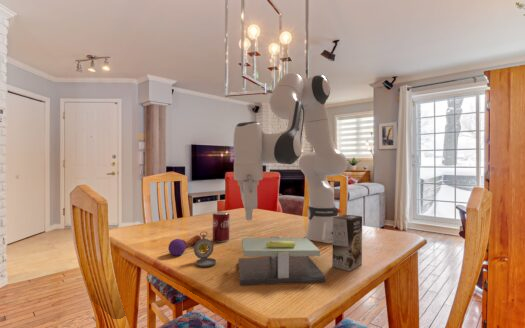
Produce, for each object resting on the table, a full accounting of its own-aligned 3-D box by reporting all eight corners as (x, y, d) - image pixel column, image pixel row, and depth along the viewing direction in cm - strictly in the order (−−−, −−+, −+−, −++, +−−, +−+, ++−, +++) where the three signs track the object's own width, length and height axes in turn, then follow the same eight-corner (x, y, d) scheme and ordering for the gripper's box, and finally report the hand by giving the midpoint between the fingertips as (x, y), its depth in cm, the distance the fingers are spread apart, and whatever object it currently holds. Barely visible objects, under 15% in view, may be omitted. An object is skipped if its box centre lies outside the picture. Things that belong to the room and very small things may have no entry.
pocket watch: (206, 269, 89) (206, 237, 89) (187, 264, 94) (187, 234, 94) (223, 261, 96) (223, 232, 96) (205, 257, 101) (205, 229, 101)
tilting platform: (307, 242, 96) (307, 232, 96) (319, 255, 82) (320, 243, 82) (241, 242, 93) (242, 231, 93) (243, 256, 79) (243, 243, 79)
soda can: (231, 238, 126) (231, 211, 127) (227, 243, 119) (227, 214, 119) (215, 238, 127) (215, 211, 127) (210, 242, 120) (210, 214, 120)
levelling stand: (308, 260, 98) (308, 235, 98) (325, 282, 80) (325, 251, 80) (238, 262, 95) (238, 237, 95) (240, 285, 77) (240, 254, 77)
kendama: (205, 233, 120) (182, 242, 100) (202, 247, 119) (178, 259, 100) (192, 230, 121) (167, 238, 101) (189, 244, 121) (163, 255, 101)
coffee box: (350, 272, 87) (350, 219, 87) (331, 266, 92) (331, 217, 92) (362, 264, 94) (363, 215, 94) (344, 260, 98) (345, 213, 99)
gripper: (262, 175, 77) (262, 226, 77) (255, 172, 97) (256, 213, 97) (238, 176, 76) (239, 227, 76) (237, 173, 96) (237, 213, 96)
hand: (248, 219), depth 87 cm, fingers closed
